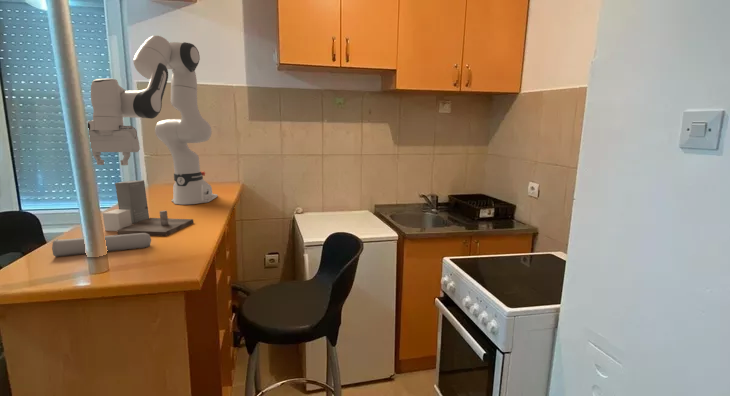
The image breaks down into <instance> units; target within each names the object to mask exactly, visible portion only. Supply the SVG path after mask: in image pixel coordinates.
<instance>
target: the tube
mask: <svg viewBox="0 0 730 396" xmlns="http://www.w3.org/2000/svg"><path fill="white" fill-rule="evenodd" d="M104 236H105V240H106V246H107V250H108V252H116V250H118V251H126V250H127V249H129V250H137V249H136V248H139V249H146V248H149V247H150V246H151V244H152V238H151V236H150V234H147V233H136V234H124V235H122V234H114V235H113V234H112V235H104ZM83 238H84V237H79V238H77V237H76V238H65V239H59V238H57V239H54V240H53V241H52V247H51V250H52V255H53V256H54V258H58V257H66V256H67V257H68V256H74V255H78V256H79V255H86V254H85V244H84V239H83ZM145 247H146V248H145Z"/></svg>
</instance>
